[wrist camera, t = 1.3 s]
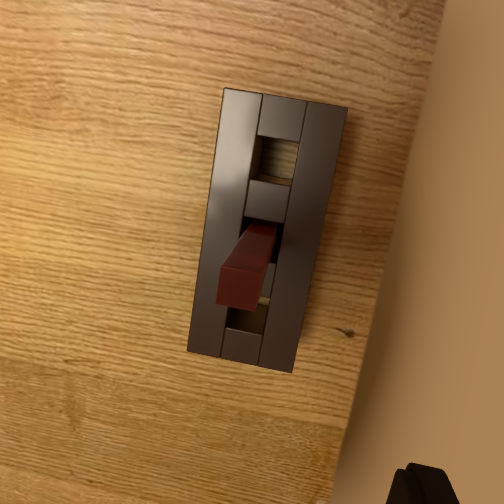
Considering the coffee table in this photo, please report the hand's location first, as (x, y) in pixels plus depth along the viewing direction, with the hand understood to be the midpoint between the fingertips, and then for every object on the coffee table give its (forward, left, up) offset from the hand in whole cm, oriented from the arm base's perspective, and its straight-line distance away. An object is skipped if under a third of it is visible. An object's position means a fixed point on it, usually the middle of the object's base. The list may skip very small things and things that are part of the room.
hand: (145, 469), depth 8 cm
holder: (-1, -1, -23) cm, 23 cm away
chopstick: (-1, -1, -23) cm, 23 cm away
